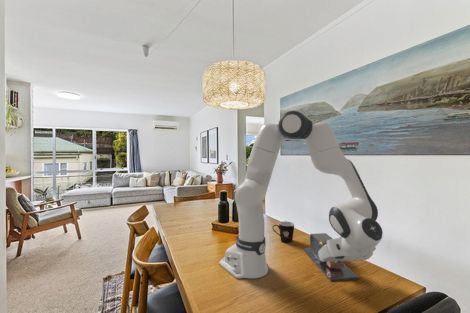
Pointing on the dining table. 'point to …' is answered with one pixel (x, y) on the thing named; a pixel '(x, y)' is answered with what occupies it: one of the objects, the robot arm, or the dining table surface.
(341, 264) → the shaft
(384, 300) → the dining table surface
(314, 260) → the housing
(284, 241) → the coffee mug
